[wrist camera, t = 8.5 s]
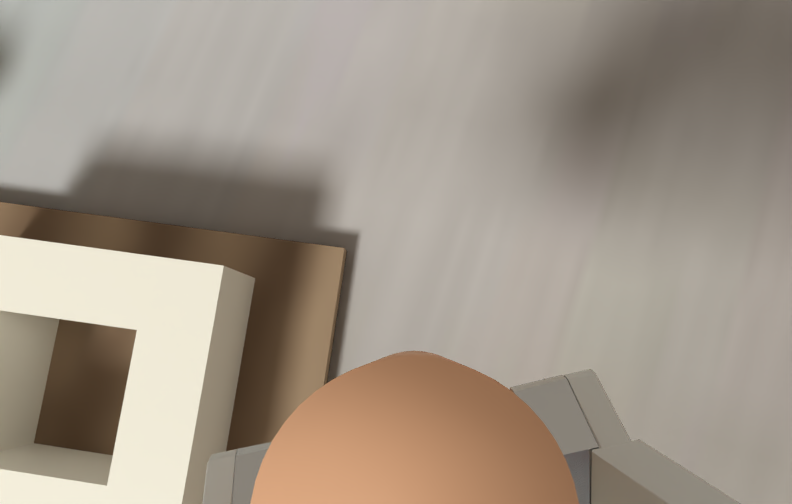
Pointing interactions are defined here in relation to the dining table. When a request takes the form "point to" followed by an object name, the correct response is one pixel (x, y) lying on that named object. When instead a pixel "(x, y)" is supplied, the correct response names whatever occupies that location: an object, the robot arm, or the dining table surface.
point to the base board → (112, 346)
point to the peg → (414, 441)
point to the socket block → (148, 374)
